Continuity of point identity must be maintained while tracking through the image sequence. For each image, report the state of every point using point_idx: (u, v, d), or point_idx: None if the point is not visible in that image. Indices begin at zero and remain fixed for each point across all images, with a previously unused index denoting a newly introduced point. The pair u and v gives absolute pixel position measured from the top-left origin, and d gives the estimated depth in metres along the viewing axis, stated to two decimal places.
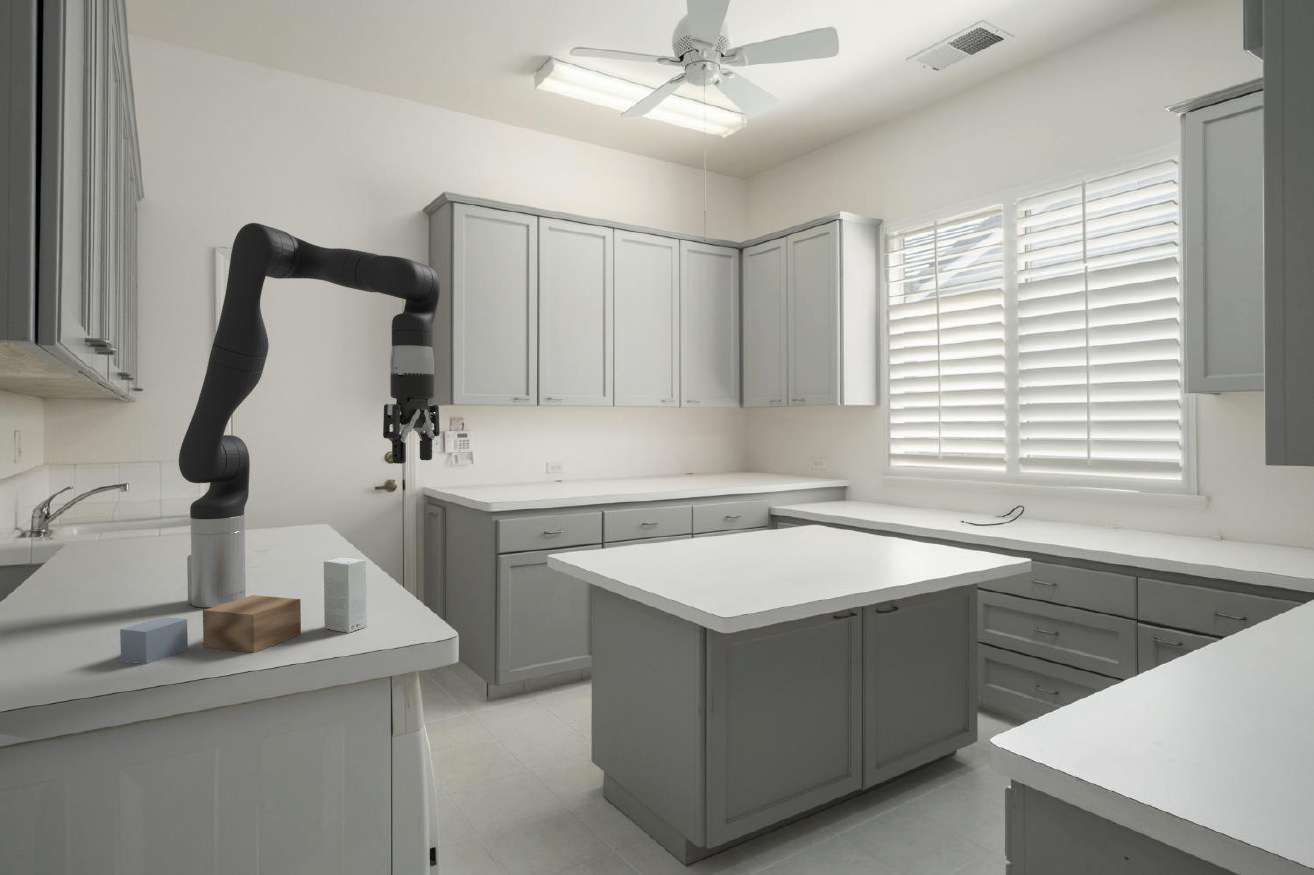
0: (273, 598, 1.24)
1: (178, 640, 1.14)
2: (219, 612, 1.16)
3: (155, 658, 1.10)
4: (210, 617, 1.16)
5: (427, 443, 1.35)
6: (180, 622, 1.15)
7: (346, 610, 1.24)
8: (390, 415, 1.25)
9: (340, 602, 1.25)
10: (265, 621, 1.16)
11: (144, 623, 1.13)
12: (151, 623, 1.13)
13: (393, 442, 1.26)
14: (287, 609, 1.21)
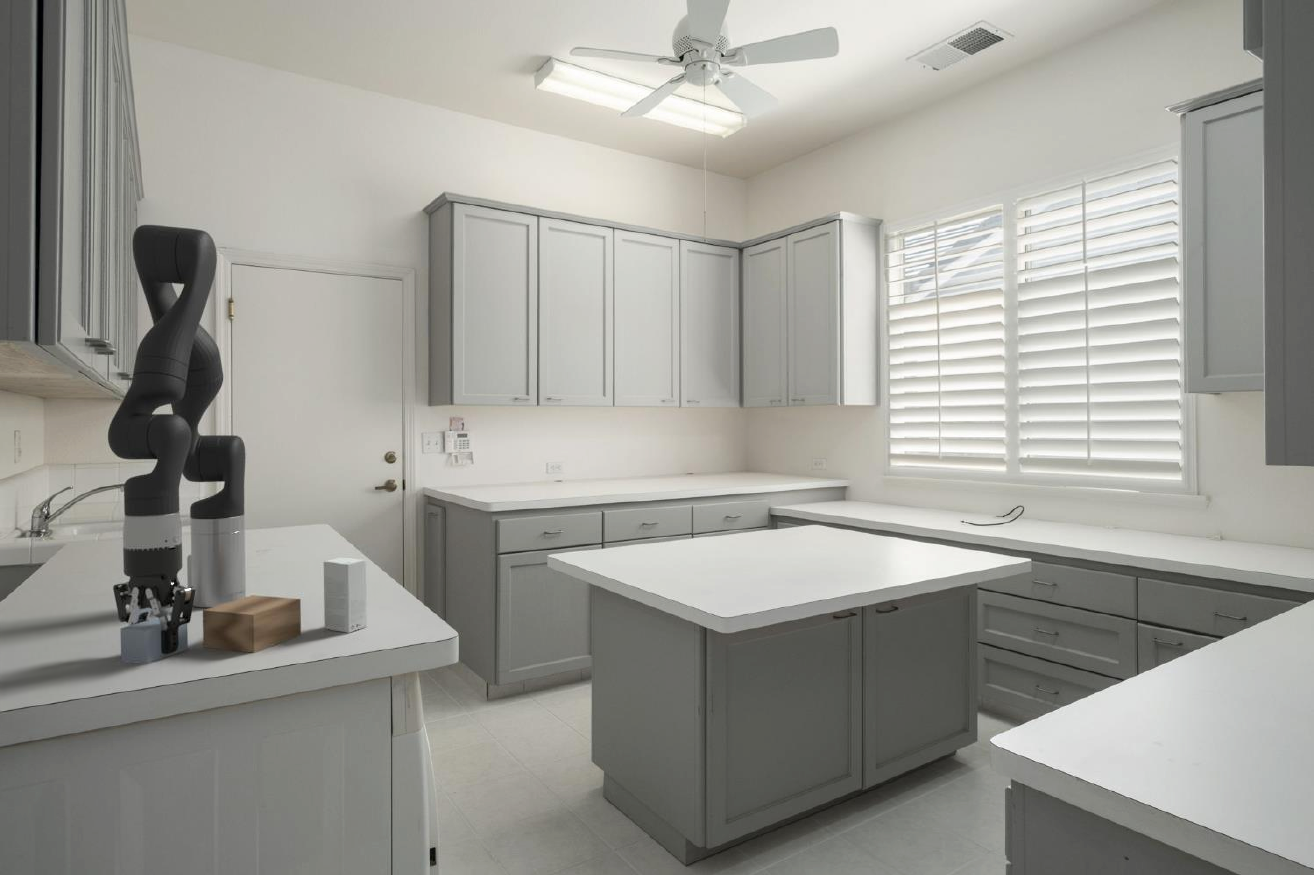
0: (273, 598, 1.24)
1: None
2: (219, 612, 1.16)
3: (156, 657, 1.11)
4: (210, 617, 1.16)
5: None
6: None
7: (346, 610, 1.24)
8: (185, 601, 1.11)
9: (340, 602, 1.25)
10: (265, 621, 1.16)
11: (144, 622, 1.13)
12: (151, 622, 1.13)
13: (172, 629, 1.12)
14: (287, 609, 1.21)
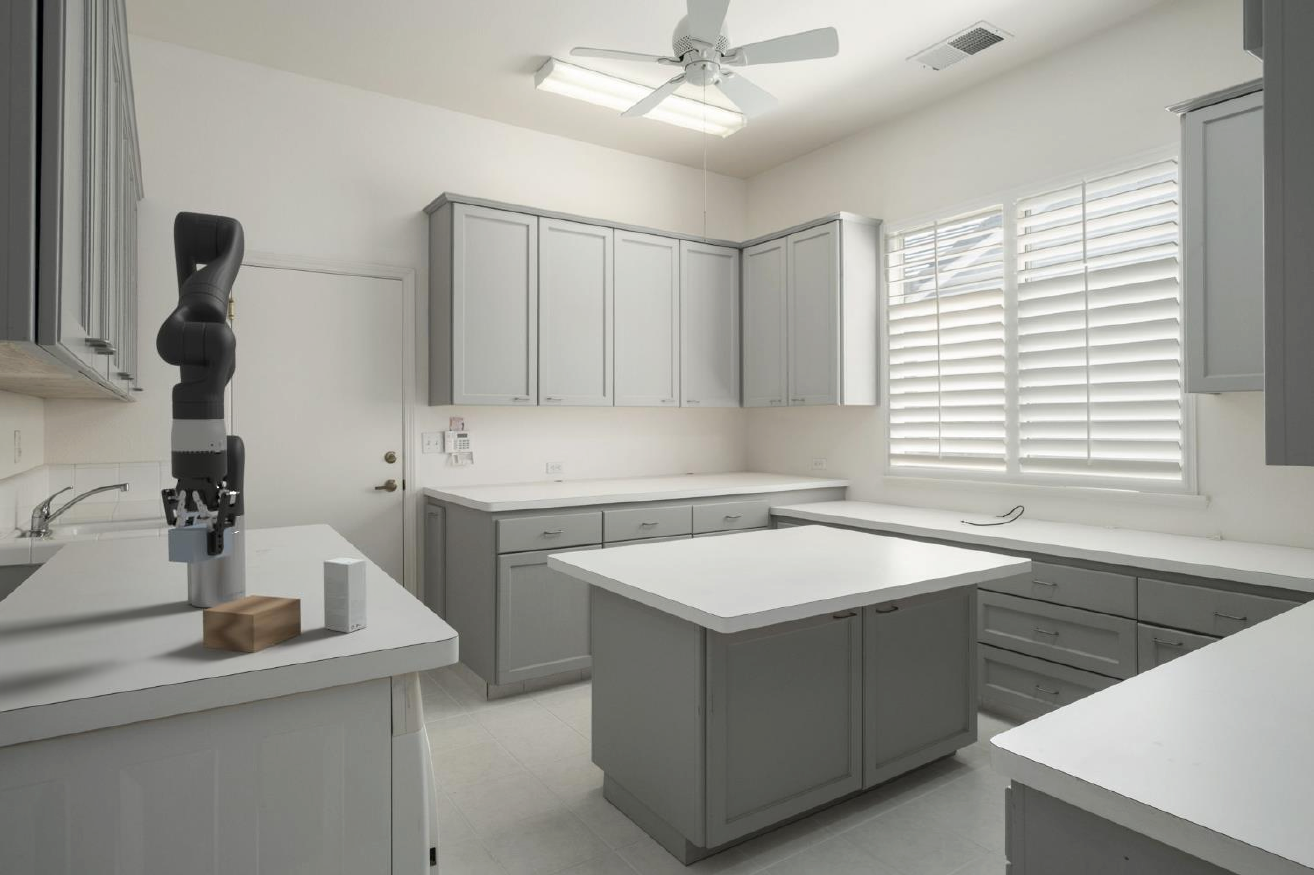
0: (273, 598, 1.24)
1: None
2: (219, 612, 1.16)
3: (202, 558, 1.13)
4: (210, 617, 1.16)
5: None
6: None
7: (346, 610, 1.24)
8: (230, 504, 1.14)
9: (340, 602, 1.25)
10: (265, 621, 1.16)
11: (190, 526, 1.16)
12: (197, 526, 1.16)
13: (218, 532, 1.15)
14: (287, 609, 1.21)
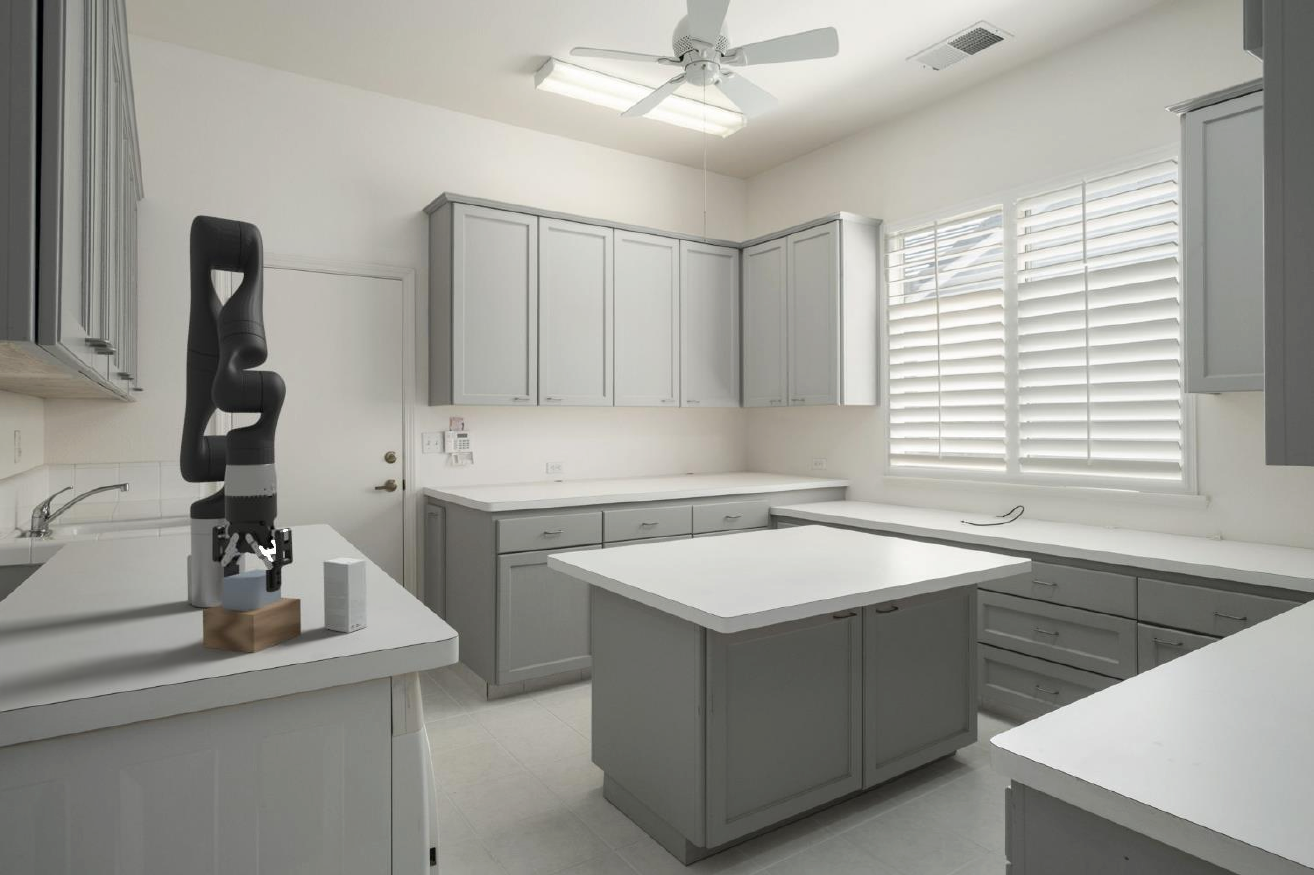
0: None
1: None
2: (219, 612, 1.16)
3: (254, 605, 1.18)
4: (210, 617, 1.16)
5: (236, 568, 1.21)
6: None
7: (346, 610, 1.24)
8: (285, 541, 1.18)
9: (340, 602, 1.25)
10: (265, 621, 1.16)
11: (242, 574, 1.20)
12: (248, 574, 1.20)
13: (276, 569, 1.18)
14: (287, 609, 1.21)
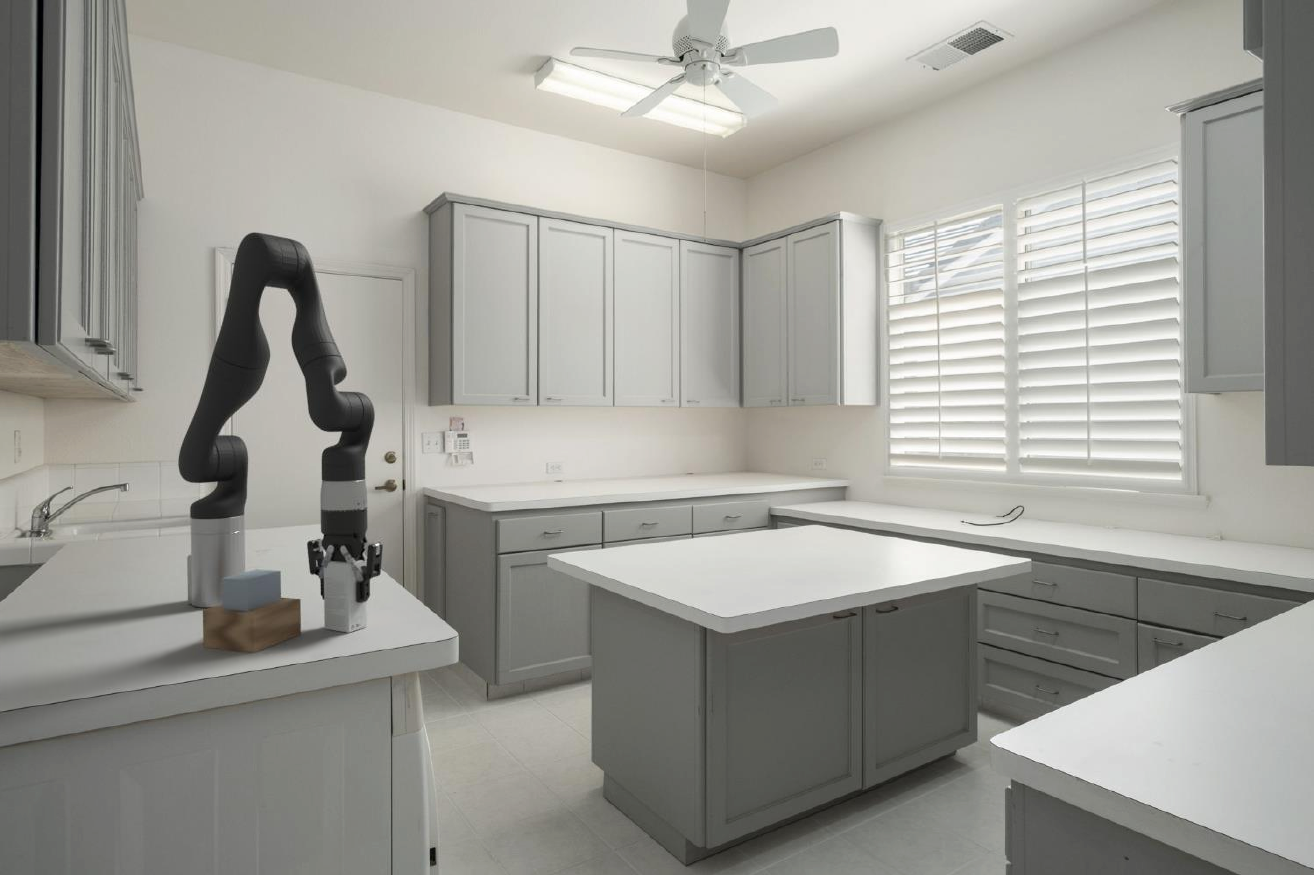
0: None
1: (273, 590, 1.21)
2: (219, 612, 1.16)
3: (254, 605, 1.18)
4: (210, 617, 1.16)
5: None
6: (275, 573, 1.22)
7: (346, 610, 1.24)
8: (376, 555, 1.25)
9: (340, 602, 1.25)
10: (265, 621, 1.16)
11: (242, 574, 1.20)
12: (248, 574, 1.20)
13: (366, 581, 1.25)
14: (287, 609, 1.21)
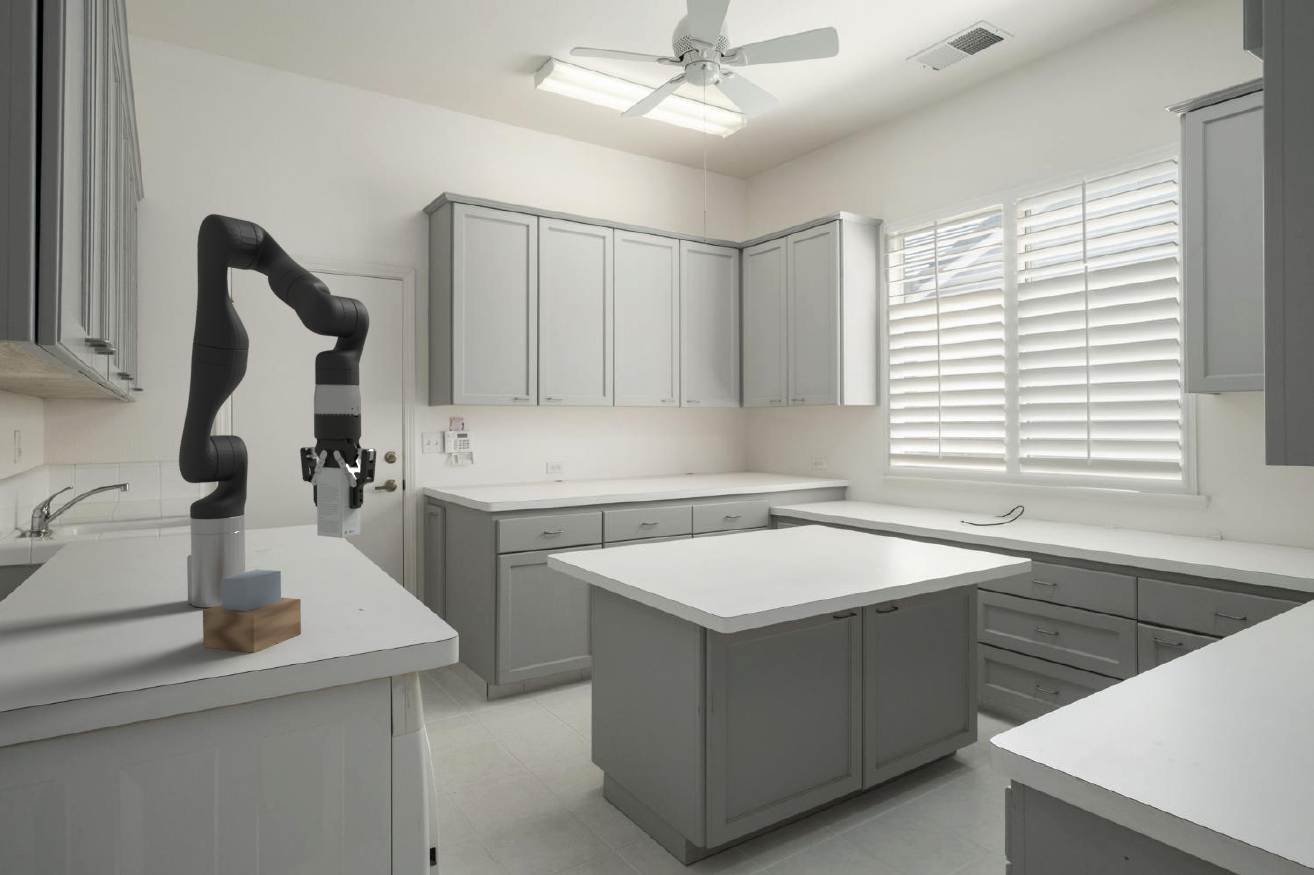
0: None
1: (273, 590, 1.21)
2: (219, 612, 1.16)
3: (254, 605, 1.18)
4: (210, 617, 1.16)
5: None
6: (275, 573, 1.22)
7: (339, 515, 1.23)
8: (370, 460, 1.24)
9: (333, 508, 1.24)
10: (265, 621, 1.16)
11: (242, 574, 1.20)
12: (248, 574, 1.20)
13: (359, 487, 1.25)
14: (287, 609, 1.21)
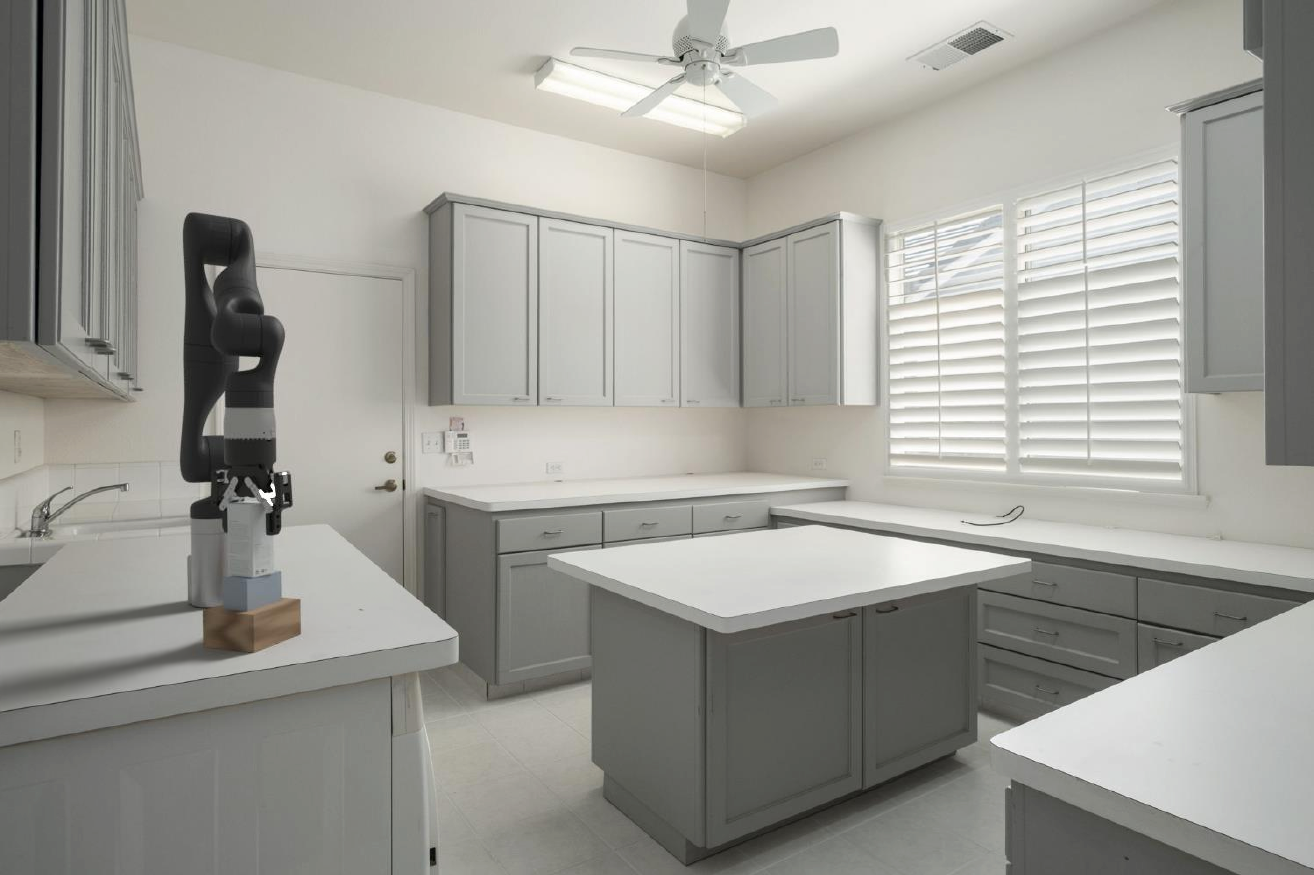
0: None
1: (274, 590, 1.21)
2: (219, 612, 1.16)
3: (254, 606, 1.17)
4: (210, 617, 1.16)
5: None
6: (275, 573, 1.21)
7: (250, 554, 1.17)
8: (284, 483, 1.18)
9: (243, 546, 1.18)
10: (265, 621, 1.16)
11: None
12: None
13: (276, 512, 1.18)
14: (287, 609, 1.21)
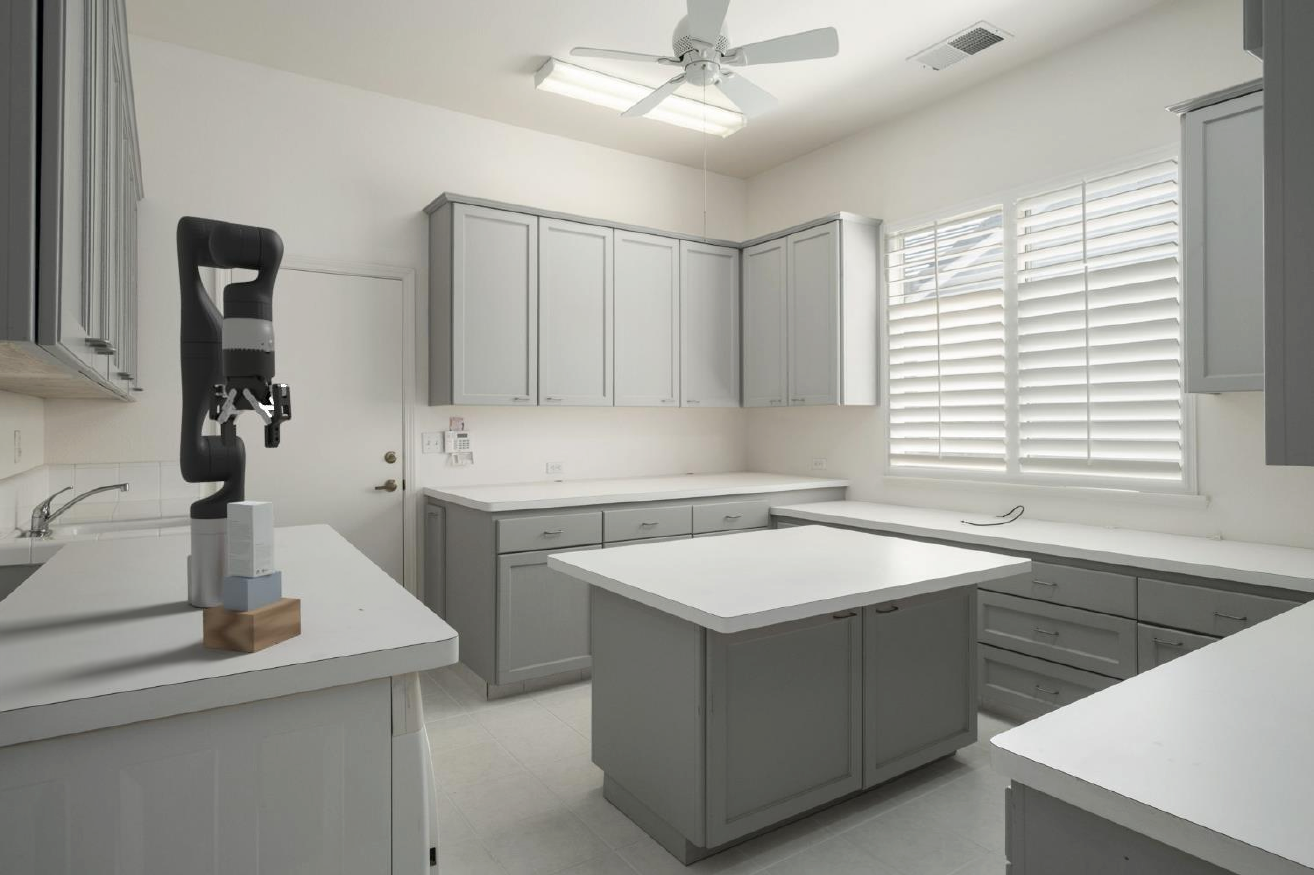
0: None
1: (274, 590, 1.21)
2: (219, 612, 1.16)
3: (255, 606, 1.17)
4: (210, 617, 1.16)
5: (233, 427, 1.21)
6: (275, 573, 1.21)
7: (251, 554, 1.17)
8: (283, 395, 1.17)
9: (244, 546, 1.18)
10: (265, 621, 1.16)
11: None
12: None
13: (275, 425, 1.17)
14: (287, 609, 1.21)
